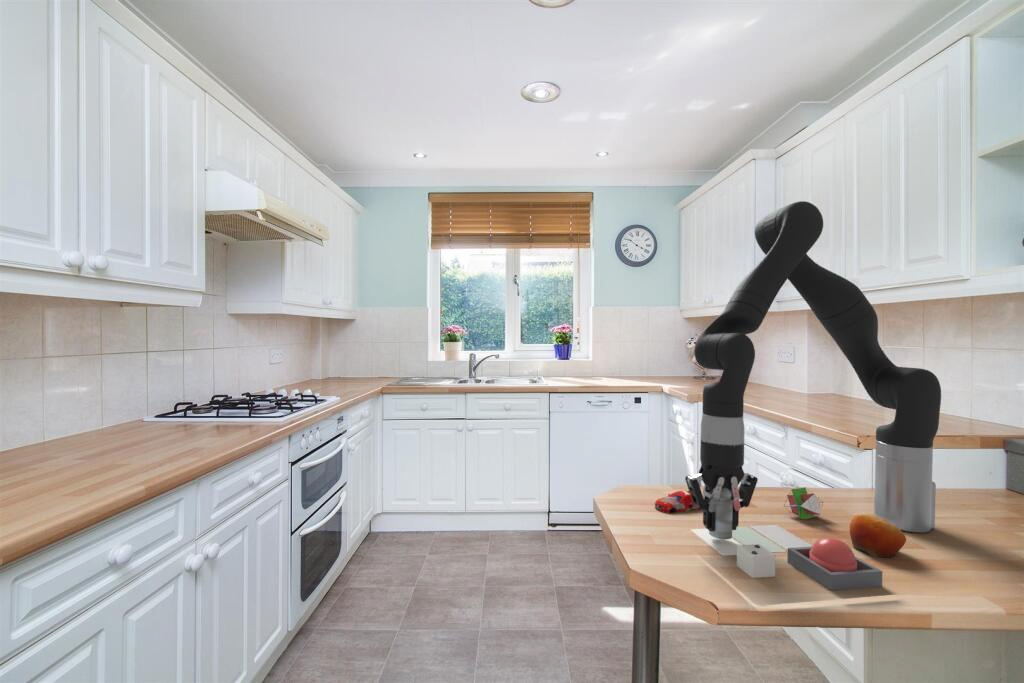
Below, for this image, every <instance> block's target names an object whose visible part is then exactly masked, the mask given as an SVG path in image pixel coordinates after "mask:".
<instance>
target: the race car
mask: <svg viewBox="0 0 1024 683" xmlns="http://www.w3.org/2000/svg"><path fill="white" fill-rule="evenodd" d="M702 495H703V494H702ZM703 496H704V495H703ZM654 508H655V509H656V510H657V511H659V512H662V513H666V514H674V513H681V512H688V511H695V510H696V511H698V510H702V509H701V508H699V507H698V506H696V505H695V504H693V501H692V498H691V495H690V492H689V490H679V491H677V490H676V491H674V492H672V493H671V494H670V493H668V496H664V497H661V498H658V499H657V500H655V502H654Z"/></svg>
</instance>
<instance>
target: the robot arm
mask: <svg viewBox="0 0 1024 683" xmlns="http://www.w3.org/2000/svg"><path fill="white" fill-rule="evenodd" d="M823 228H824V218H823V215H822V213H821V210H819V208H818V207H817V206H816V205H815V204H813V203H811V202H810V201H795V202H793V203H790V204H788V205H785V206H783V207H781V208H779V209H777V210H775V211H772V212H771V213H769V214H767V215H765V216H763V217H762V218H760V219H759V220H757V222H756V224H755V227H754V238H755V241H756V243H757V244H758V247H759V249H760V250H761V251H762V253H764V255H765V256H764V257H763V258H762V259H761V260H760V261H759V262H758V263H757V264H756V265H755V267H753V269H751V271H750V272H749V273H748V274H746V276H745V277H744V278H743V279H742V280H741V282H739V284H738V285H737V286H736V288H735V290H734V291H733V294H732V295H731V296H730V299H729V300H728V302H727V304H726V306H725V308H724V309H723V311H722V312H721V313H719V315H718V316H717V317H716V318H714V320H713V321H712V322H711V323H710V324H709V325H708V326H707V327H706V328H705V329H703V331H702V332H701V334H700V335H699V336H698V338H697V340H696V342H695V344H694V345H695V346H694V352H693V353H694V359H695V361H696V362H697V364H698V365H699V366H700V367H702V368H705V369H708V370H717V371H722V374H721V376H720V379H719V381H716V382H714V381H713V382H709V383H707V384H705V385H704V386H703V389H702V390H703V391H702V414H701V415H702V416H701V421H700V422H701V423H700V445H699V447H700V452H699V453H700V454H699V456H700V458H699V459H700V468H699V471H698V473H696V474H694V475H688V474H687V475H686V476H685V482H686V485H687V488H688V491H689V492H690V495H691V498H692V501H693V504H695V505H696V506H698V507H699V508H701V509H700V510H702V525H703V526H704V527H705V529H708V530H709V531H715V512H713V511H714V510H715V506H716V502H717V501H718V500H719V497H720V493H721V489H723V488H727V489H729V490H730V491H731V493H732V497H731V499H732V500H733V517H732V530H736V527H739V516H740V515H739V513H740V512H739V511H740V510H741V509H742V508H744V507H745V508H748V507H749V506H750V502H751V501H752V497H753V495H754V492H755V488H756V486H757V483H758V480H759V479H758V477H757V476H754V475H753V474H750V473H748V472H746V473H745V472H744V469H743V466H744V464H745V423H744V397H745V391H746V388H747V387H748V386H747V385H748V383H749V380H750V379H749V378H750V375H751V373H752V369H753V365H754V364H755V359H756V351H755V345H754V342H753V341H752V340H751V338H750V337H749V336H748V334H752V333H753V334H754V333H755V332H756V331H758V329H759V328H760V327H761V325H762V323H763V322H764V320H765V317H766V315H767V313H768V312H769V310H770V308H771V306H772V304H773V302H774V301H775V299H776V297H777V295H778V293H779V292H780V291H781V289H782V288H783V285H784V284H785V283H786V281H787V280H788V281H789V282H790V283H791V285H792V286H793V287H794V288H795V290H796V291H797V293H798V294H799V295H800V296H801V297H802V299H803V300H804V302H805V303H806V304H807V305H808V306H809V308H810V310H811V311H812V312H813V314H814V316H815V317H816V319H817V320H818V321H819V322H820V323H821V325H822V326H823V328H824V329H825V331H826V332H827V333H828V334H829V335H830V336H831V338H832V339H833V340H834V342H835V344H836V345H837V346H838V348H839V349H840V351H841V352H842V354H843V355H844V356H845V358H846V359H847V361H848V362H849V363H850V365H851V367H852V368H853V370H854V372H855V374H856V375H857V377H858V379H859V381H860V383H861V385H862V387H863V388H864V390H865V391H866V393H867V395H868V396H869V397H870V399H871V400H872V401H873V402H874V403H875V404H877V405H878V406H881V407H883V408H885V409H891V410H895V414H894V419H893V421H892V422H891V423H888V424H882V425H879V426H877V427H876V429H875V459H874V460H875V461H874V462H875V463H874V464H875V466H874V502H873V503H874V504H873V506H874V508H873V515H875V516H877V517H879V518H882V519H884V520H886V521H888V522H890V523H892V524H894V525H896V526H897V527H898V528H899V529H900V530H901V531H903V532H904V531H905V532H909V533H910V532H912V533H922V534H923V533H928V532H931V530H932V529H935V527H936V492H937V490H936V488H937V484H936V482H934V481H933V454H934V453H933V452H934V439H935V437H936V435H937V433H938V430H939V427H940V426H939V423H940V415H941V414H940V413H941V402H942V387H941V383H940V381H939V379H938V377H937V376H936V375H935V374H934V373H933V372H932V371H930V370H928V369H925V368H919V367H905V366H897V365H896V364H894V362H892V361H891V359H889V357H888V356H887V355H886V353H885V351H883V349H882V348H881V346H880V343H879V340H878V338H879V337H878V334H879V320H878V318H879V317H878V315H877V312H876V310H875V308H874V307H873V305H872V304H871V302H870V301H869V300H868V298H867V297H866V296H865V294H864V293H863V292H862V290H861V289H860V288H859V287H858V286H857V285H856V284H855V283H853V282H852V281H850V280H849V279H846V278H845V277H843V276H841V275H840V274H837V273H835V272H833V271H831V270H829V269H827V268H825V267H823V266H821V265H820V264H818V263H817V262H815V261H814V260H813V259H812V258H811V257H810V256H809V255H808V252H809V251H810V250H811V248H812V247H814V245H815V244H816V242H817V241H818V240H819V239H820V236H821V234H822V232H823ZM702 482H703V484H704V486H703V489H702V490H701V488H702ZM711 491H712V492H713V493H711ZM703 495H704V496H703Z"/></svg>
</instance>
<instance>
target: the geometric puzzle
mask: <svg viewBox="0 0 1024 683" xmlns="http://www.w3.org/2000/svg"><path fill="white" fill-rule="evenodd" d="M791 492H792V493H791ZM809 492H811V490H809V489H807V487H806V486H805V487H800V488H791V489H790V491H789V493H788V494H787V495H786V499H785V501H784V505H783V508H788V507H789V508H790V509H791V511H789V510H788V512H789V513H790V514H792V513H794V514H795V515H798V516H799V519H800V520H805V519H806V520H805V521H807V519H809V520H810V519H813V518H815V517H816V519H817V518H819V516H821V515H822V513H821V507H823V506H824V505H823V503H824V501H821V499H820V498H819V497H817V495H816V494H815V493H813V492H811V493H809ZM819 500H820V502H819ZM787 501H788V502H789V503H788V504H789V505H786V503H787ZM821 503H822V504H821Z"/></svg>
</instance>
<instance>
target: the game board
mask: <svg viewBox="0 0 1024 683" xmlns="http://www.w3.org/2000/svg"><path fill="white" fill-rule="evenodd" d="M690 531H691V532H692V533H693V534H695V535H696V536H697V537H699V539H701V540H702V541H703V542H705V543H706V544H707V545H709V546H710V547H711V548H713V549H714V550H715V551H716V552H718V553H719V554H720V555H721V556H723V557H725V556H737V545H751V544H759V545H761V546H762V547H764V548H765V549H767V550H768V551H770V552H771V553H773V554H775V553H786V552H787V553H788V548H797V547H812V546H813V544H810V543H808V542H806V541H805V540H803V539H801V538H799V537H798V536H796V535H795V534H793V533H791V532H789V531H787V530H785V529H784V528H782V527H780V526H779V525H777V524H771V525H770V524H769V525H766V524H765V525H752V526H738V527H736V530H732V538H731V539H718V538H715V537H713V536H711V535H710V534H709V530H708V529H706V528H695V529H693V528H692V529H690Z"/></svg>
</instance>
